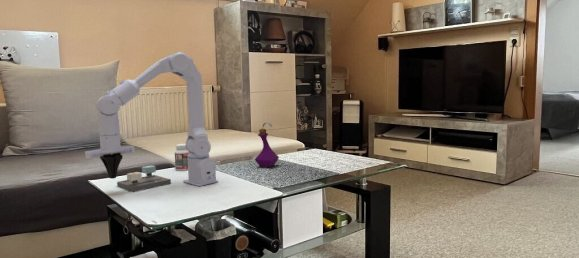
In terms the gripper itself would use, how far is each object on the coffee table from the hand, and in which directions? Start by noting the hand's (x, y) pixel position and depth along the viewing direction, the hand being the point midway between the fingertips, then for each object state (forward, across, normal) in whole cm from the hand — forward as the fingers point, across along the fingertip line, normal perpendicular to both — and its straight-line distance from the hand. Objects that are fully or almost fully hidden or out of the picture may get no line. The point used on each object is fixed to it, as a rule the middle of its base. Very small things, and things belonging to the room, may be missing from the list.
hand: (112, 177), depth 130 cm
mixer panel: (+5, -12, -2) cm, 13 cm away
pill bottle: (+5, -34, -14) cm, 37 cm away
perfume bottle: (+5, -59, +8) cm, 60 cm away
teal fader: (+3, -16, -7) cm, 17 cm away
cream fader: (+3, -7, 0) cm, 8 cm away
